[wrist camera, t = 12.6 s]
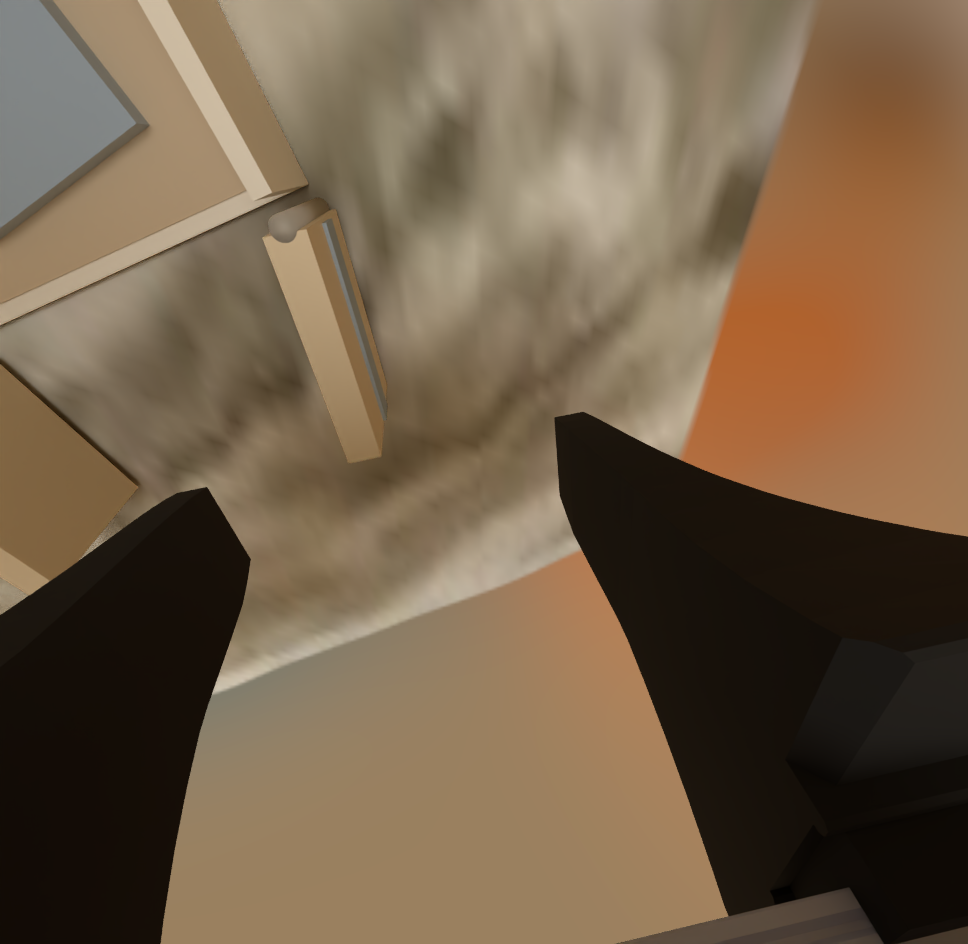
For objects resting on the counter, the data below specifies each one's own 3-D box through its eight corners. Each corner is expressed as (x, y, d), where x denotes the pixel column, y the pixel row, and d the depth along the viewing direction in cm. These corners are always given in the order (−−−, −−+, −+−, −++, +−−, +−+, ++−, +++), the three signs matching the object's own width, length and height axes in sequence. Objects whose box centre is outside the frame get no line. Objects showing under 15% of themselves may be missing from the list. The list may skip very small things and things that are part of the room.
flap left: (-44, 362, 16) (-222, 441, 11) (-18, 348, 16) (-187, 422, 11) (116, 497, 20) (30, 598, 15) (138, 487, 20) (57, 586, 15)
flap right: (300, 200, 15) (254, 217, 10) (334, 194, 15) (304, 208, 10) (362, 389, 19) (348, 463, 14) (389, 384, 19) (384, 456, 14)
